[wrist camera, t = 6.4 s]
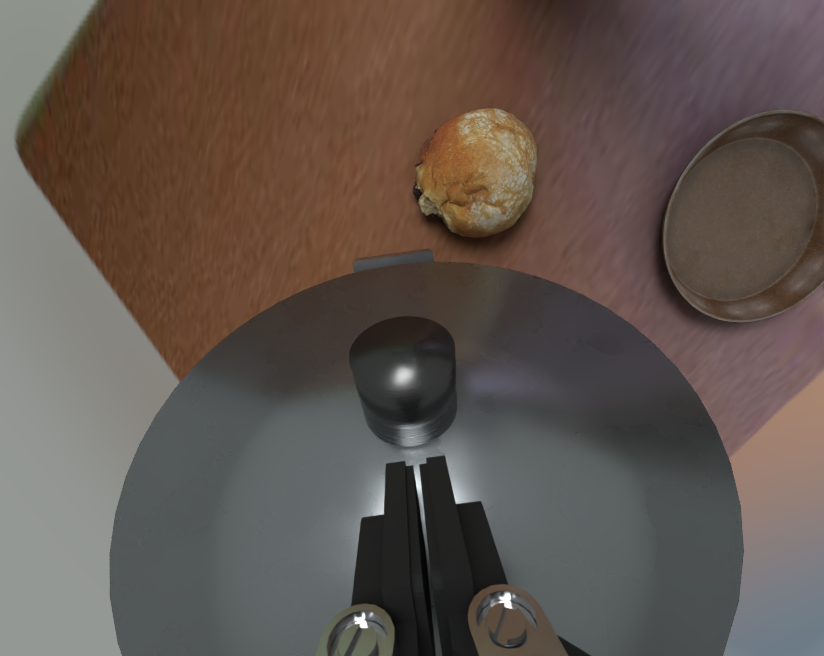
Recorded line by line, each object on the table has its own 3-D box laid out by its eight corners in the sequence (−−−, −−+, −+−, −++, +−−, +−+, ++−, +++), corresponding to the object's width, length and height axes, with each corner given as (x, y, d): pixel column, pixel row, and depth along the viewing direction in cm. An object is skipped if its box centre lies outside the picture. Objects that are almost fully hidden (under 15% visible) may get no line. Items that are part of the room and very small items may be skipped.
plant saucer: (867, 196, 37) (908, 193, 34) (734, 348, 40) (762, 358, 37) (736, 75, 34) (768, 60, 31) (603, 250, 37) (622, 251, 34)
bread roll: (496, 236, 40) (558, 236, 33) (404, 239, 35) (455, 240, 28) (499, 128, 37) (567, 104, 30) (401, 116, 33) (456, 84, 26)
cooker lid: (224, 305, 24) (192, 243, 21) (565, 258, 24) (577, 191, 21) (-52, 929, 8) (-325, 1002, 5) (967, 771, 8) (1214, 761, 5)
